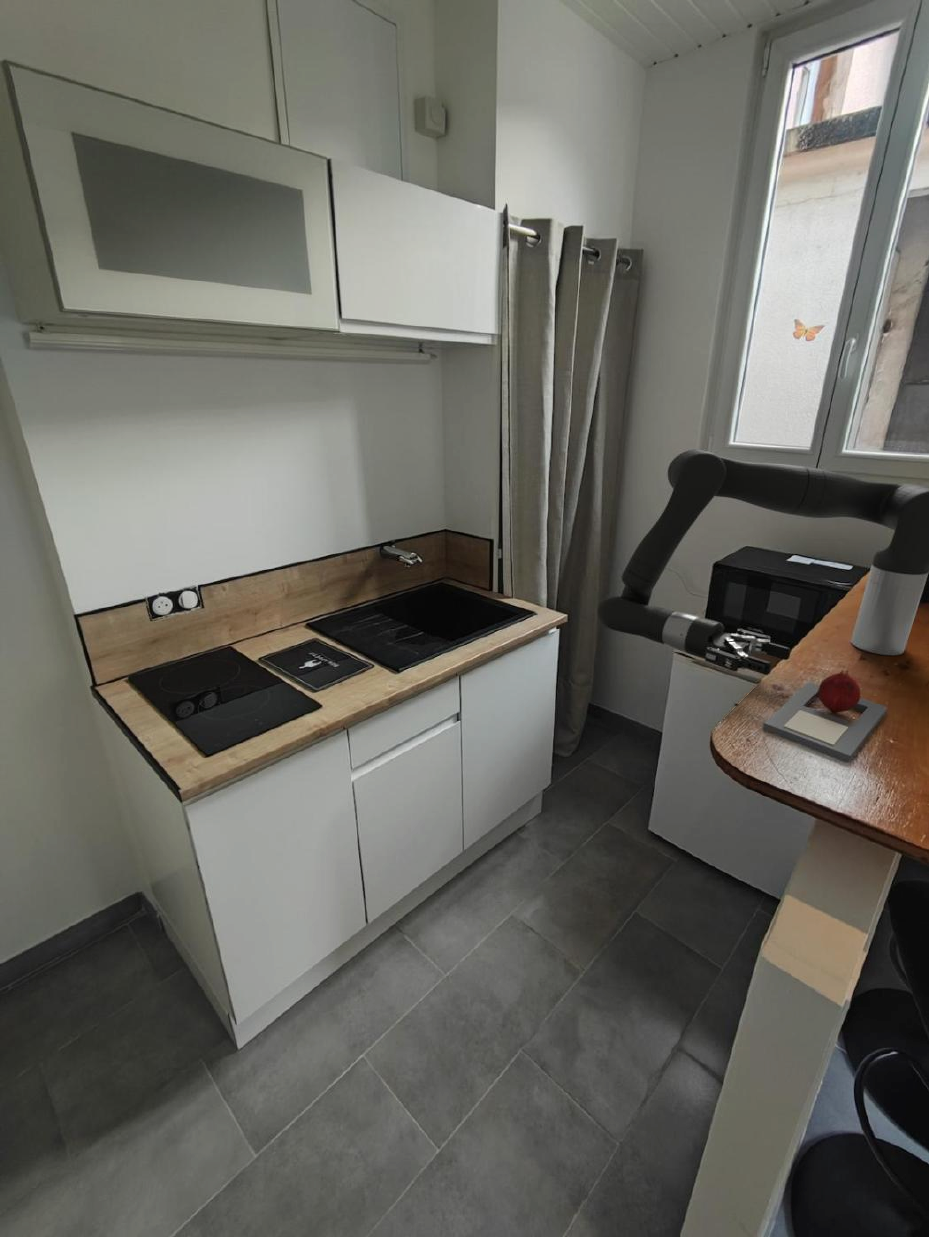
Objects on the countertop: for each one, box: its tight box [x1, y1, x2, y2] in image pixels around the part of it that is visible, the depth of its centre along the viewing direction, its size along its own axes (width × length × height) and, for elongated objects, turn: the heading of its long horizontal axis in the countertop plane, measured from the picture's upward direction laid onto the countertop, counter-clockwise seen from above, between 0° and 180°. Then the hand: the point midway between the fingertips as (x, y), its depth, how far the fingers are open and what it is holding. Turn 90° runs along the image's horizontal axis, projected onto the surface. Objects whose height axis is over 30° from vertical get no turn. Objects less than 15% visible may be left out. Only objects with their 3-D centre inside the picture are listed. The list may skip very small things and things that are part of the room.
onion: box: [818, 668, 861, 714], centre depth 94 cm, size 6×6×8 cm
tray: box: [762, 681, 889, 764], centre depth 92 cm, size 20×12×1 cm, turn 133°
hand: (780, 661), depth 100 cm, fingers open, 8 cm apart
